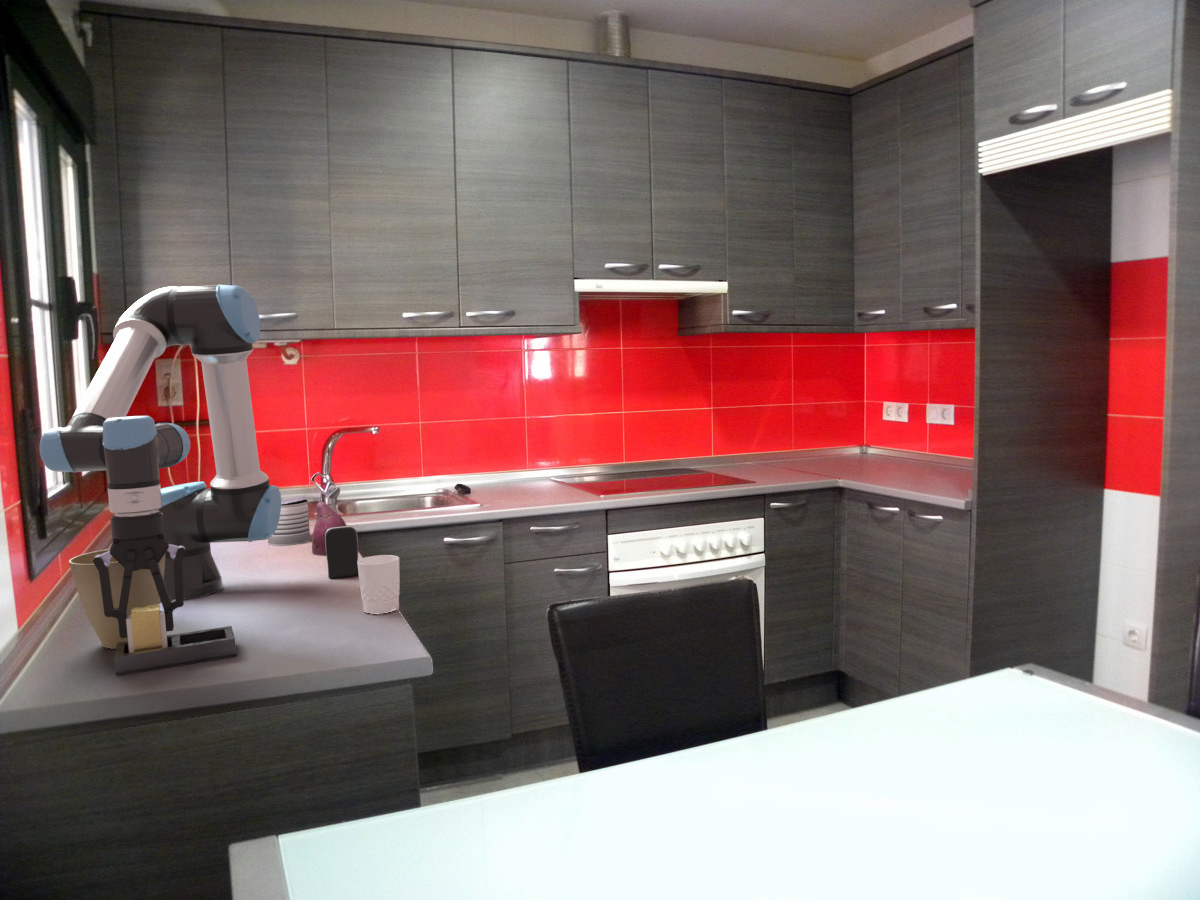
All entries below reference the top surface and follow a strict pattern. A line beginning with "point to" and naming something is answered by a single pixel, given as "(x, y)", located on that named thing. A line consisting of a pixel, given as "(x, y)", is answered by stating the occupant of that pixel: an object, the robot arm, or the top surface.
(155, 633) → the brass block
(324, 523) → the vegetable
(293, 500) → the can
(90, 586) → the plant pot
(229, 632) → the divided tray
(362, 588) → the white cup
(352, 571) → the battery charger
